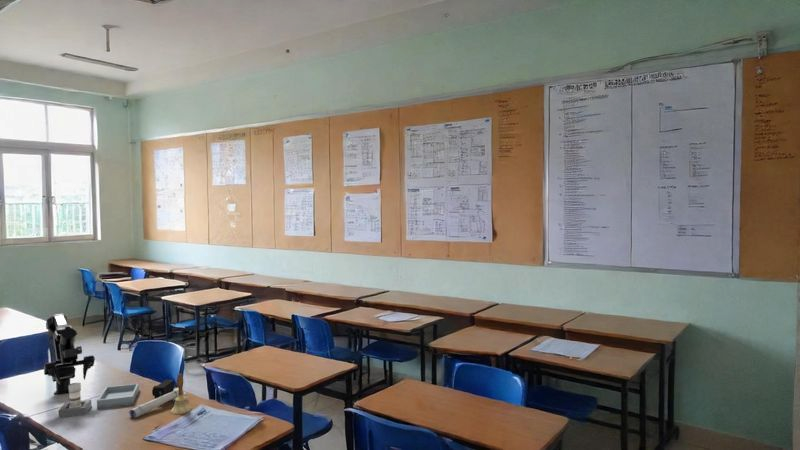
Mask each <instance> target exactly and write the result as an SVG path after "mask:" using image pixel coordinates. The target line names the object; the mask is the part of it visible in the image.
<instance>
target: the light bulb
mask: <svg viewBox="0 0 800 450" xmlns="http://www.w3.org/2000/svg"><path fill="white" fill-rule="evenodd" d="M81 387H82V384H81V382H73V383H70V384H69V393H68V394H69V395H68V396H69V399H68V400H69V402H70V406H69V408H75V407H81V399H82V398H81V397H82V396H81V391H82V388H81Z"/></svg>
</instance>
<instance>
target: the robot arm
mask: <svg viewBox="0 0 800 450" xmlns="http://www.w3.org/2000/svg"><path fill="white" fill-rule="evenodd" d="M45 328H46V330H47V331H48V334H49V335H50V336H51V337H52V338H53V339H52V340H53V345H54V351H55V352H54V353H55V359H56V360H55V361H50V362H46V363H45V364H44V366H43V374H44V376H48V377H51V381H52V382H53V383H55V388H56V390H55V391H54V392H53V395H61V394H69V384H71V379H74V378H76V366H77V367H78V366H82V374H83V377H82V378H83V380H86V377H87V373H88V371H89V369H91V368H92V367H94V366H95V362H96V361H95V360H96V359H95V355H92V354H91V355H87V356H86V355H85V356H83V359H81V360H78V359H79V357H78V355H81V354H82V353H83V349H82V346H81V345H80V346H76V347H75V343H76V337H77V335H78V332H77V331H76V329H75V328H73V325H71V324H69V323H68V318H67V316H66V315H65V313H56V314H52V315H51V316H50V317H48V318H47V319H46V322H45Z"/></svg>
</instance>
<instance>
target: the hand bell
mask: <svg viewBox="0 0 800 450" xmlns="http://www.w3.org/2000/svg"><path fill="white" fill-rule="evenodd" d="M176 385H177V388H178V389H179V397H177V398H176V399H175V403H174V404H173V405H174V406H173V407H172V409H171V410H170V413H171V414H172V415H184V414H186V413H188V412H191V410H192V406H190V405H189V403H188V400H187V396H186V395H185V396H183V391H184V390H183V391H182V388H183V387H184V378H183V375H182V373H179V374H177V378H176Z"/></svg>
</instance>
